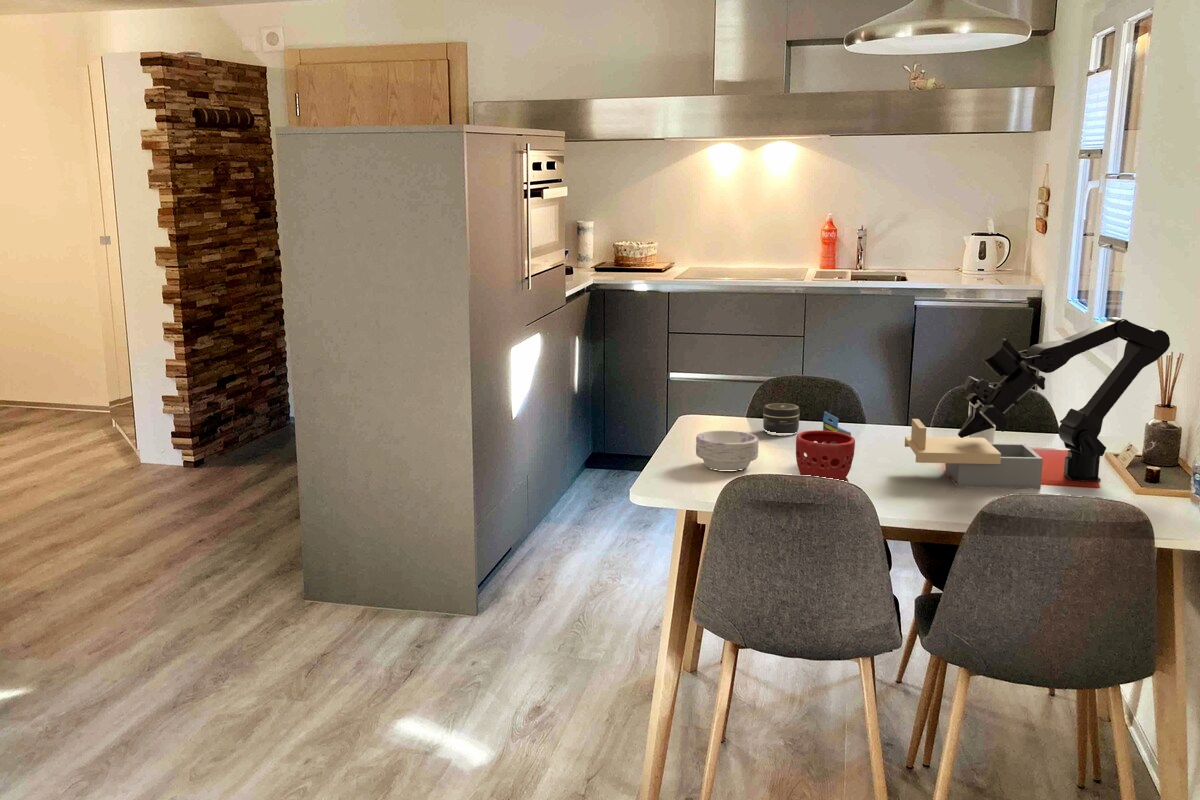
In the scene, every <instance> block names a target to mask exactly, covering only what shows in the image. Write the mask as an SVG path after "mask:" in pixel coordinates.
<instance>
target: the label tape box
mask: <svg viewBox="0 0 1200 800" xmlns="http://www.w3.org/2000/svg"><path fill="white" fill-rule="evenodd" d="M839 419H840V418H838V417H837V416H835V415H832V414H830V413H829V412H827V411H823V419H822V426H823V427H822V431H834V432H840V433H844V434H847V435H850V436H852V433H851V432H850V431H848V430H846V429H844V428H841V427H839ZM830 420H831V421H830ZM823 443H824V444H827V443H826V442H823ZM830 444H837V443H836V442H831V443H830ZM845 460H846V457H845Z"/></svg>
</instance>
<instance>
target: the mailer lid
mask: <svg viewBox="0 0 1200 800" xmlns="http://www.w3.org/2000/svg"><path fill="white" fill-rule="evenodd" d="M910 433H911V434H910V435H911V436H904V447H905V448H906V447H907V448H908V447H909V448H910V449H911V450H912V453H913V454H914V455H915V463H919V464H920V463H921V464H922V463H923V464H924V463H925V464H927V463H928V464H946V463H968V464H1001V453H1000V452H999V451H998V450H997V449H996V448H995V447H993V446H992V445H991V444H990V443H989V442H988V441H987V440H986V439H985V438H969V437H967V436H966V437H963V438H960V437H959V436H958V437H954V436H953V437H951V436H950V437H949V436H947V437H946V436H927V427H926V425H924V423H923V422H922V421H921V420H920V419H919V418H911V431H910Z"/></svg>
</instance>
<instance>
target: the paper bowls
mask: <svg viewBox="0 0 1200 800" xmlns="http://www.w3.org/2000/svg"><path fill="white" fill-rule="evenodd" d="M759 440H760V439H759V437H758V436H757V435H755V434H752V433H750V432H745V431H738V430H736V431H735V430H726V429H724V430H723V429H721V430H707V431H702V432H700V433H699V434H697V435H696V438H695V443H696V444H695V455H696V456H697V457H698V458H699V459H702V461H703V463H704V464H705V466H706V467H707V468H708V467H709V468H712V469H717V470H739V469H744V468H746V469H747V468H748V467H749V465H750V464H751V462H753V461H756V460H757V459H758V457H759V444H760V442H759ZM709 468H708V469H709ZM712 469H711V470H712ZM744 470H745V469H744Z"/></svg>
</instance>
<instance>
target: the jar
mask: <svg viewBox="0 0 1200 800" xmlns="http://www.w3.org/2000/svg"><path fill="white" fill-rule="evenodd" d="M762 411H763V412H762V413H763V420H762V421H763V424H762V425H763V430H764V429H765V430H767V431H770V432H776V433H795V432H797V431H798V430H799V428H800V427H799V426H800V407H799V406H798V405H796V404H793V403H786V402H785V403H783V402H781V403H780V402H778V403H777V402H775V403H773V402H772V403H768V404H765V405H764V406H763V410H762ZM797 433H798V432H797Z"/></svg>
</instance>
